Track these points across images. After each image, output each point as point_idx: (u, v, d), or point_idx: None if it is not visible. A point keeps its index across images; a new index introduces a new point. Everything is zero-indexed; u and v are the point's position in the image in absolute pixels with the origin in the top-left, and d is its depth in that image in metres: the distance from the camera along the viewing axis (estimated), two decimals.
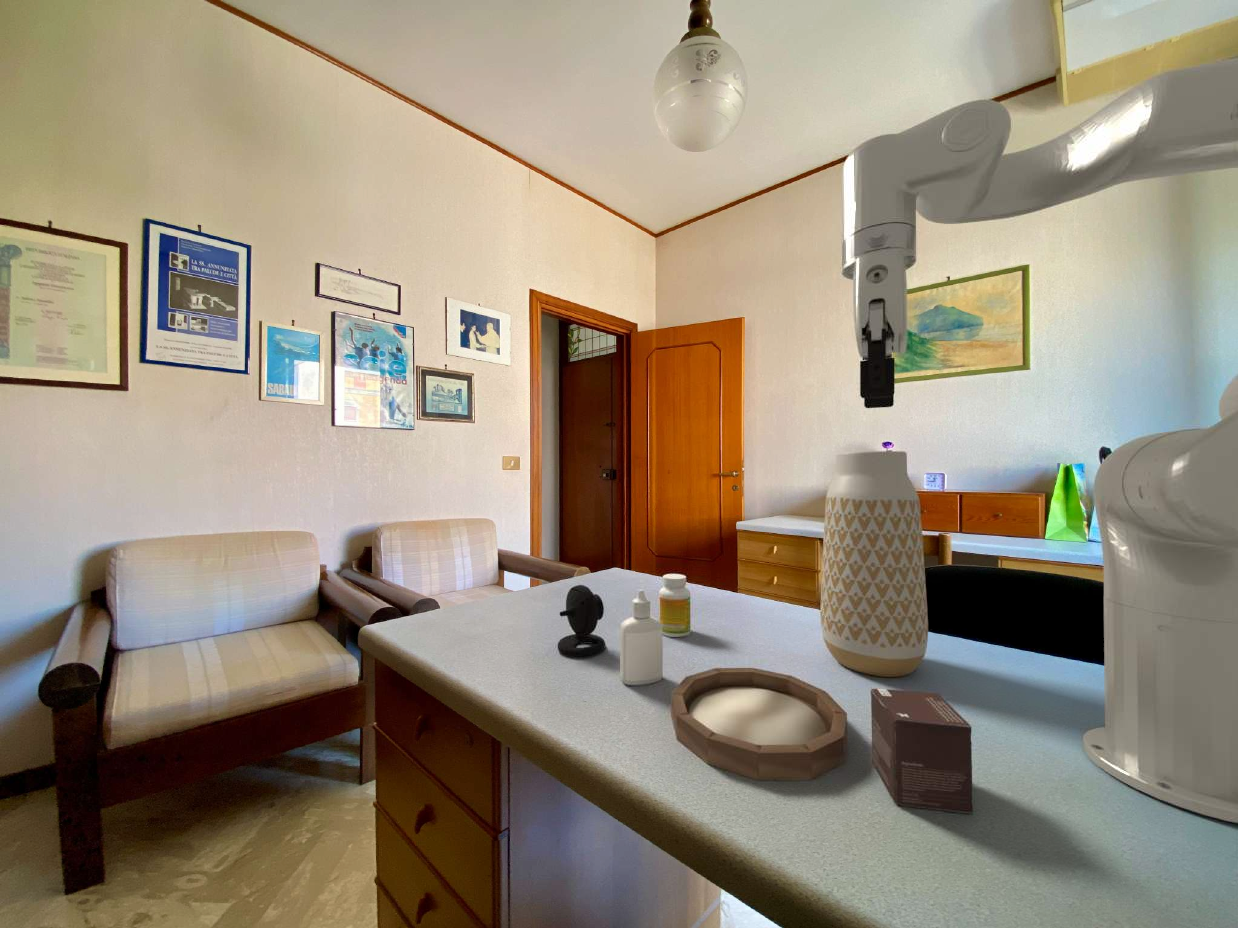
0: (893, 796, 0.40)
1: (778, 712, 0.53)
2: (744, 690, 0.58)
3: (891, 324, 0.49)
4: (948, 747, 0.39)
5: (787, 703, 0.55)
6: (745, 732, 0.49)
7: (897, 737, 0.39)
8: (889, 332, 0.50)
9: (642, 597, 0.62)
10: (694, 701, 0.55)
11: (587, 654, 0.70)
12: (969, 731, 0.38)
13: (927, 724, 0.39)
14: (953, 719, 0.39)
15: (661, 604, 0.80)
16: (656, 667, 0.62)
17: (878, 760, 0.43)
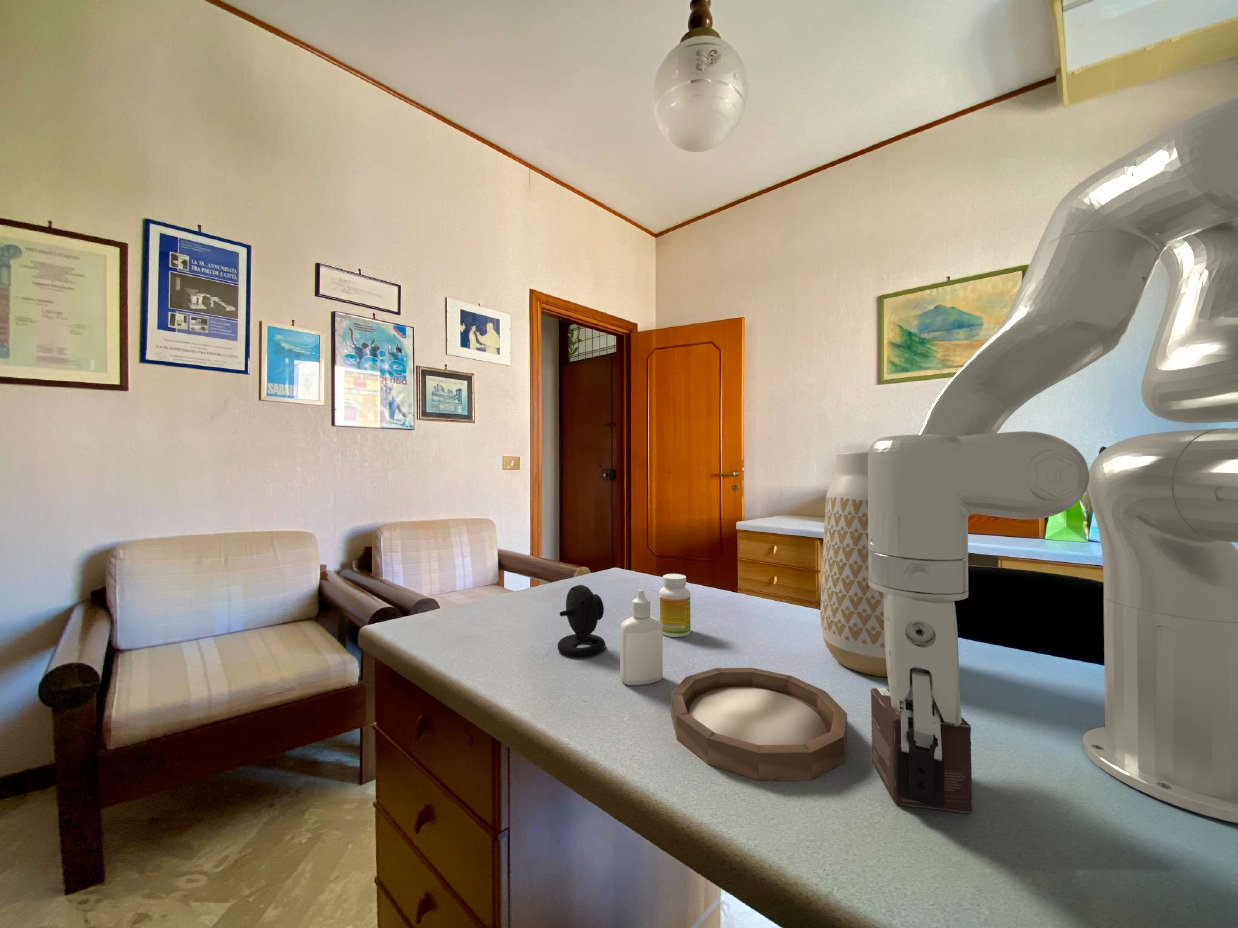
0: (892, 795, 0.40)
1: (778, 712, 0.53)
2: (744, 690, 0.58)
3: None
4: (947, 746, 0.39)
5: (787, 703, 0.55)
6: (745, 732, 0.49)
7: (897, 736, 0.39)
8: (936, 716, 0.38)
9: (642, 597, 0.62)
10: (694, 701, 0.55)
11: (587, 654, 0.70)
12: (969, 731, 0.38)
13: None
14: None
15: (661, 604, 0.80)
16: (656, 667, 0.62)
17: (878, 759, 0.43)
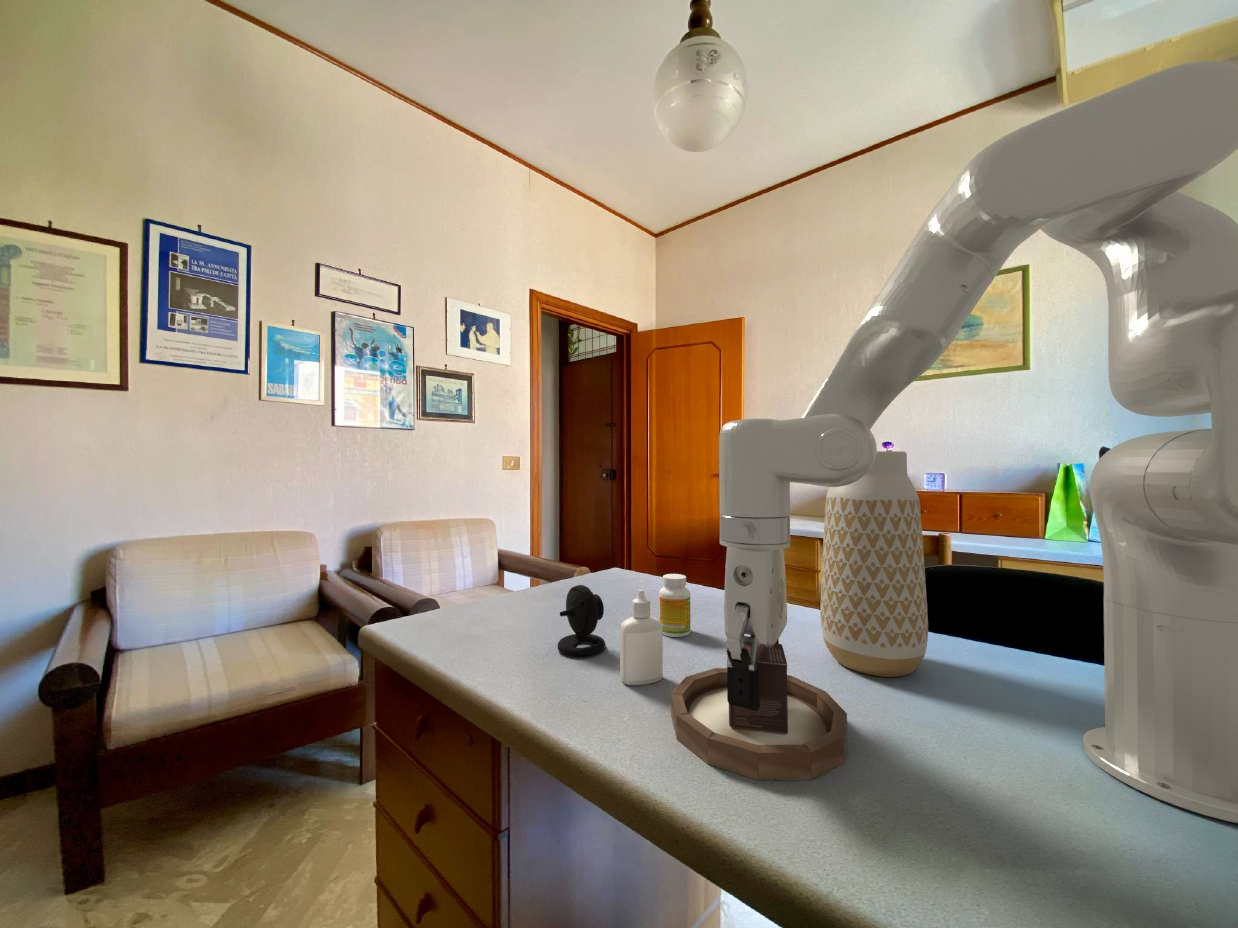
0: (729, 720, 0.50)
1: None
2: None
3: (756, 634, 0.47)
4: (768, 680, 0.48)
5: None
6: (745, 732, 0.49)
7: None
8: (756, 638, 0.47)
9: (642, 597, 0.62)
10: (694, 701, 0.55)
11: (587, 654, 0.70)
12: (785, 668, 0.48)
13: None
14: (776, 660, 0.49)
15: (661, 604, 0.80)
16: (656, 667, 0.62)
17: None
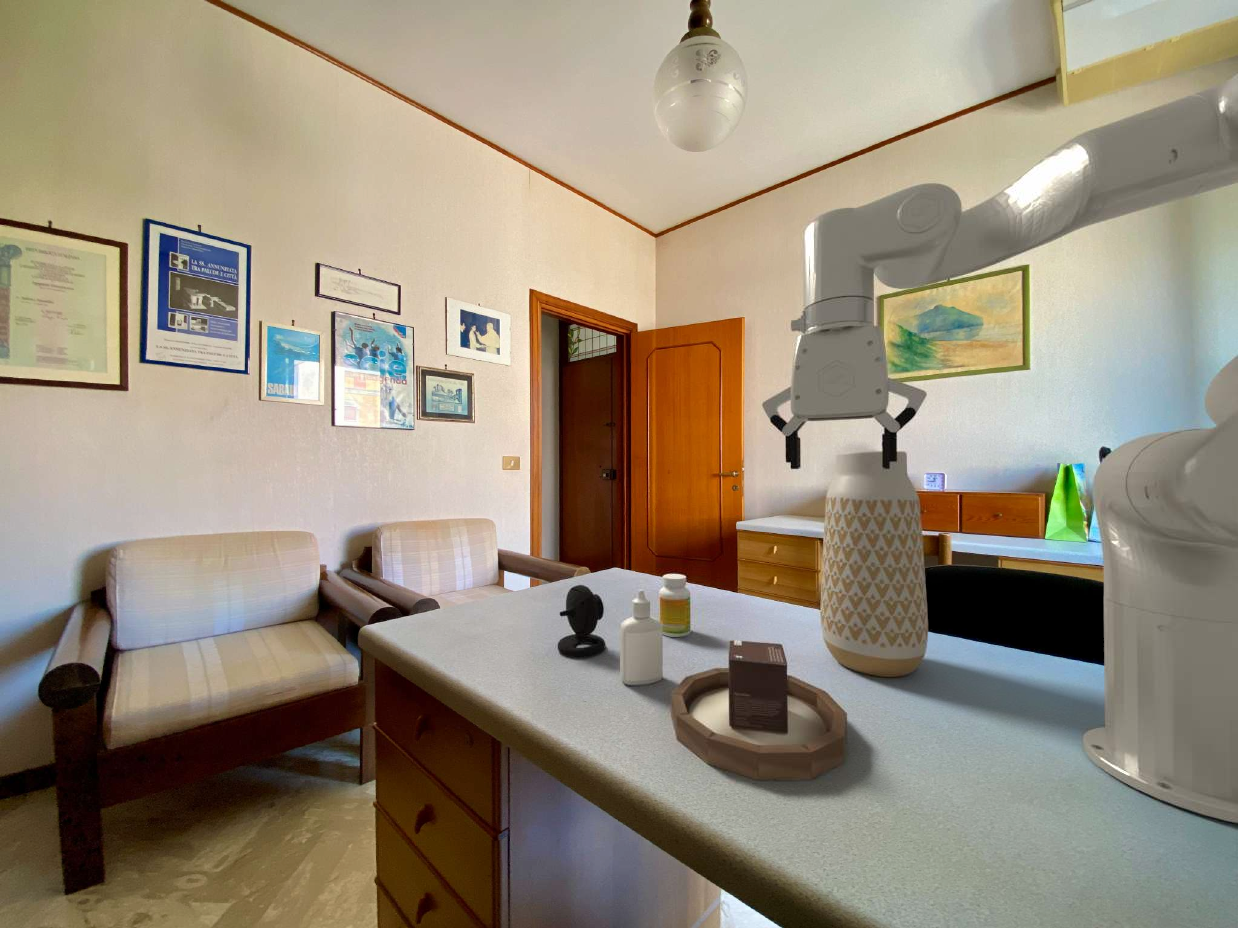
0: (729, 720, 0.50)
1: None
2: None
3: None
4: (769, 680, 0.48)
5: None
6: (745, 732, 0.49)
7: (731, 673, 0.49)
8: None
9: (642, 597, 0.62)
10: (694, 701, 0.55)
11: (587, 654, 0.70)
12: (785, 668, 0.48)
13: (754, 662, 0.49)
14: (776, 660, 0.49)
15: (661, 604, 0.80)
16: (656, 667, 0.62)
17: None
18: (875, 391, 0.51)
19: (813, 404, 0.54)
